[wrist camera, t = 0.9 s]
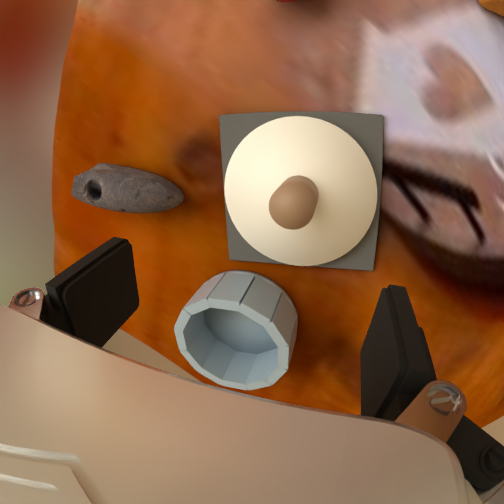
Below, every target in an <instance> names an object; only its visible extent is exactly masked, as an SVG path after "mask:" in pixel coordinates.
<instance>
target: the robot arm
mask: <svg viewBox="0 0 504 504" xmlns="http://www.w3.org/2000/svg"><path fill="white" fill-rule="evenodd" d="M45 285H46V289H47V292H48V294H47V295H46V296H45V295H44V292H43V291H42V289H40V288H36V287H31V288H26V289H24V290H21V291H19V292H18V293H16V294H15V295H14V296H13V298H12V300H11V302H10V305H9V307H4V306H0V504H504V446H503V445H501V444H500V443H499V442H497V441H496V440H495V439H494V438H492V437H491V436H490V435H489V434H487V433H486V432H485V431H483V430H482V429H481V428H480V427H478V426H477V425H476V424H475V423H473V422H472V421H471V420H470V419H468V418H467V417H466V416H464V413H465V410H466V407H467V405H466V399H465V396H464V394H463V393H462V391H461V390H460V389H459V388H458V387H457V386H456V385H454V384H452V383H450V382H447V381H443V380H437V378H436V374H435V370H434V367H433V363H432V359H431V356H430V352H429V349H428V345H427V342H426V338H425V335H424V332H423V330H422V328H421V327H418V324H417V321H416V318H415V315H414V312H413V308H412V305H411V302H410V299H409V296H408V294H407V291H406V288H405V287H402V286H396V285H389V286H388V287H387V288H383V289H382V291H381V293H380V297H379V300H378V303H377V306H376V309H375V312H374V315H373V318H372V321H371V324H370V327H369V329H368V332H367V335H366V338H365V340H364V343H363V346H362V349H361V354H360V363H361V415H354V414H348V413H342V412H335V411H329V410H323V409H317V408H311V407H305V406H300V405H294V404H289V403H284V402H279V401H274V400H269V399H265V398H260V397H256V396H251V395H247V394H243V393H239V392H235V391H231V390H227V389H223V388H219V387H216V386H212V385H208V384H205V383H201V382H198V381H194V380H191V379H187V378H184V377H181V376H178V375H174V374H171V373H168V372H166V371H162V370H159V369H157V368H153V367H151V366H148V365H145V364H142V363H139V362H136V361H134V360H131V359H128V358H126V357H123V356H121V355H118V354H115V353H113V352H110V351H108V350H105V349H103V348H102V347H103V346H104V344H105V343H106V342H107V341H108V340H109V339H110V338H111V337H112V336H113V334H114V333H115V332H116V331H117V330H118V329H119V328H120V327H121V326H122V325H123V324H124V323H125V321H126V320H127V319H128V318H129V317H130V316H131V315H132V314H133V313H134V312H135V311H136V310H137V308H138V306H139V296H138V289H137V282H136V275H135V268H134V260H133V251H132V246H131V244H130V243H129V241H128V240H127V239H123V238H117V237H113V238H111V239H110V240H108V241H107V242H105V243H104V244H102V245H101V246H99V247H98V248H96V249H95V250H93V251H92V252H90V253H89V254H87V255H86V256H84V257H83V258H81V259H80V260H78V261H77V262H76V263H74V264H73V265H71V266H70V267H68V268H67V269H66V270H64V271H63V272H61V273H60V274H59V275H57V276H56V277H54V278H53V279H52V280H50V281H49V282H48V283H46V284H45Z"/></svg>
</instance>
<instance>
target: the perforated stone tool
mask: <svg viewBox="0 0 504 504" xmlns="http://www.w3.org/2000/svg"><path fill="white" fill-rule="evenodd" d="M71 193H72V196H73V197H74V198H76V199H78V200H80V201H82V202H85V203H87V204H90V205H93V206H96V207H100V208H104V209H109V210H113V211H119V212H128V213H154V212H161V211H166V210H169V209H172V208H174V207H176V206H178V205H180V204H181V203H182V202H183V201H184V195H183V193H182V191H181V190H180V189H179V188H178V187H177V186H176V185H175V184H174V183H172V182H171V181H169V180H167V179H166V178H164V177H162V176H159V175H157V174H154V173H151V172H148V171H144V170H140V169H136V168H131V167H124V166H120V165H115V164H107V163H100V164H97V165H96V166H95V167H92V168H91V169H90V170H88V171H86V172H83V173H82V174H79V175H77V176H75V177H74V181H73V187H72V191H71Z"/></svg>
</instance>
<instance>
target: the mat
mask: <svg viewBox="0 0 504 504" xmlns="http://www.w3.org/2000/svg"><path fill="white" fill-rule="evenodd" d="M290 116H305V117H312V118H317V119H321V120H324V121H326V122H329V123H331V124H333V125H335V126H337V127H339V128H340V129H342V130H343V131H345V132H346V133H348V134H349V135H350V136H351V137H352V138H353V139H354V140H355V141H356V142H357V143H358V144H359V146H360V147H361V148H362V149H363V151H364V152H365V154H366V156H367V157H368V159H369V161H370V163H371V166H372V168H373V171H374V174H375V178H376V184H377V204H376V210H375V214H374V217H373V220H372V222H371V225H370V227H369V229H368V230H367V232H366V234H365V235H364V237H363V238H362V239H361V240H360V242H359V243H358V244H357V245H356V246H355V247H354V248H352V249H351V250H350V251H349V252H347V253H346V254H344V255H343V256H341V257H339V258H337V259H335V260H333V261H330V262H327V263H323V264H319V265H312V266H316V267H329V268H342V269H356V270H370V271H373V266H374V259H375V250H376V242H377V232H378V222H379V211H380V198H381V181H382V157H383V115H376V114H363V113H345V112H260V113H242V114H228V115H219V120H220V137H221V153H222V168H223V183H225V175H226V171H227V167H228V164H229V161H230V159H231V156H232V155H233V153H234V151H235V149H236V148H237V146H238V145H239V144H240V143H241V141H242V140H243V139H244V138H245V137H246V136H247V135H248V134H249V133H251V132H252V131H253V130H255V129H256V128H257V127H259V126H261V125H263V124H265V123H267V122H269V121H272V120H275V119H279V118H283V117H290ZM224 197H225V193H224ZM225 211H226V224H227V236H228V249H229V260H240V261H252V262H265V263H277V264H285V263H281V262H278V261H276V260H273V259H271V258H269V257H267V256H265V255H263V254H262V253H260V252H259V251H257V250H256V249H254V248H253V247H252V246H251V245H250V244H249V243H248V242H247V241H246V240H245V239H244V238H243V237H242V236H241V234H240V233H239V232H238V230H237V229H236V227H235V225H234V223H233V222H232V220H231V217H230V215H229V212H228V209H227V205H226V200H225Z"/></svg>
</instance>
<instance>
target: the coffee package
mask: <svg viewBox="0 0 504 504" xmlns="http://www.w3.org/2000/svg"><path fill="white" fill-rule="evenodd" d="M478 1H479V3H480V5H481V6H483V7H484V8H486V9H488V10H490V11H493V12H495V13H497V14H499V15H501V16H503V17H504V0H478Z"/></svg>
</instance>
